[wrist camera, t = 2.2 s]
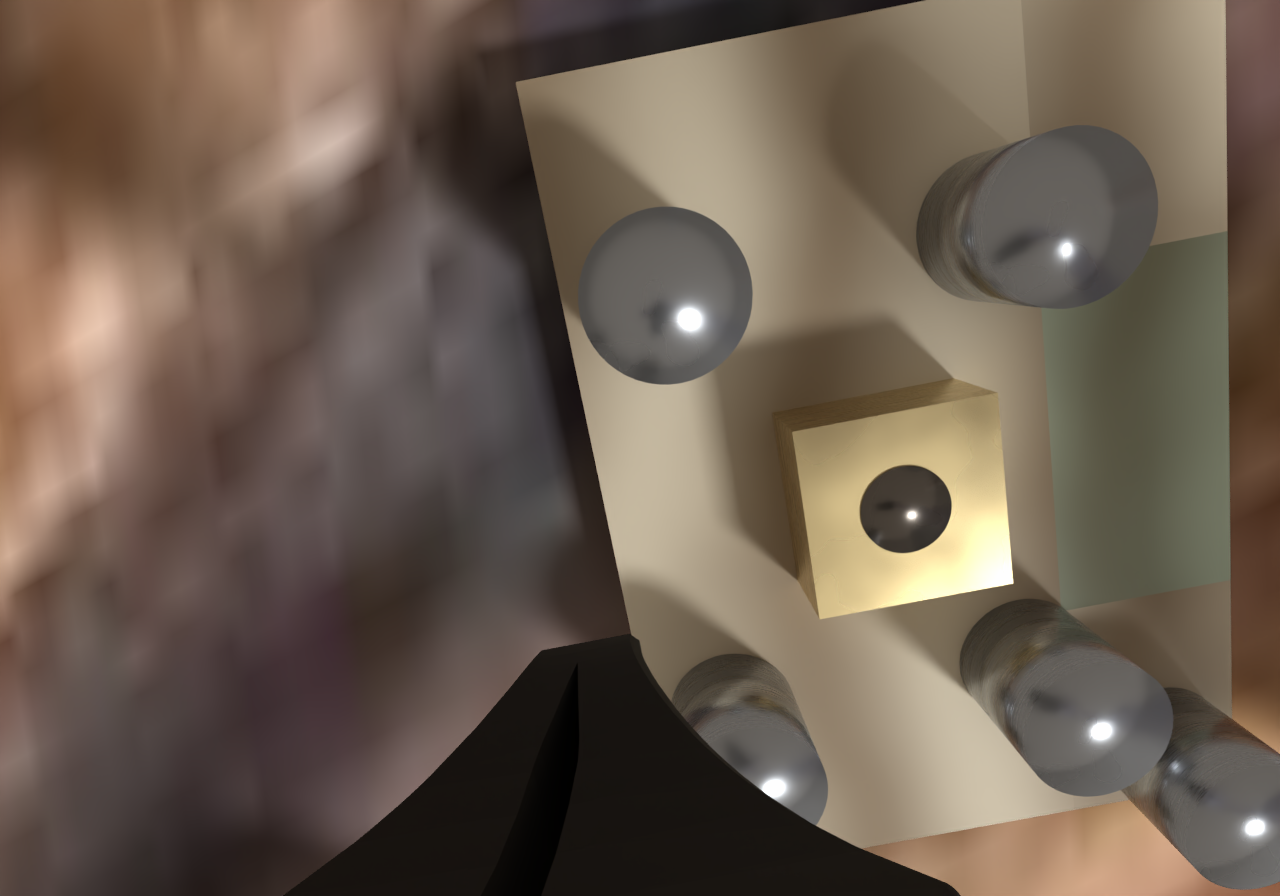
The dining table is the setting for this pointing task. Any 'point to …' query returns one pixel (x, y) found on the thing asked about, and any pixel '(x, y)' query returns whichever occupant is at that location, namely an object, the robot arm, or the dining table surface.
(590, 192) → the birch board
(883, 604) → the brass nut
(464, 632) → the dining table surface
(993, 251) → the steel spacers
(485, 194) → the dining table surface
